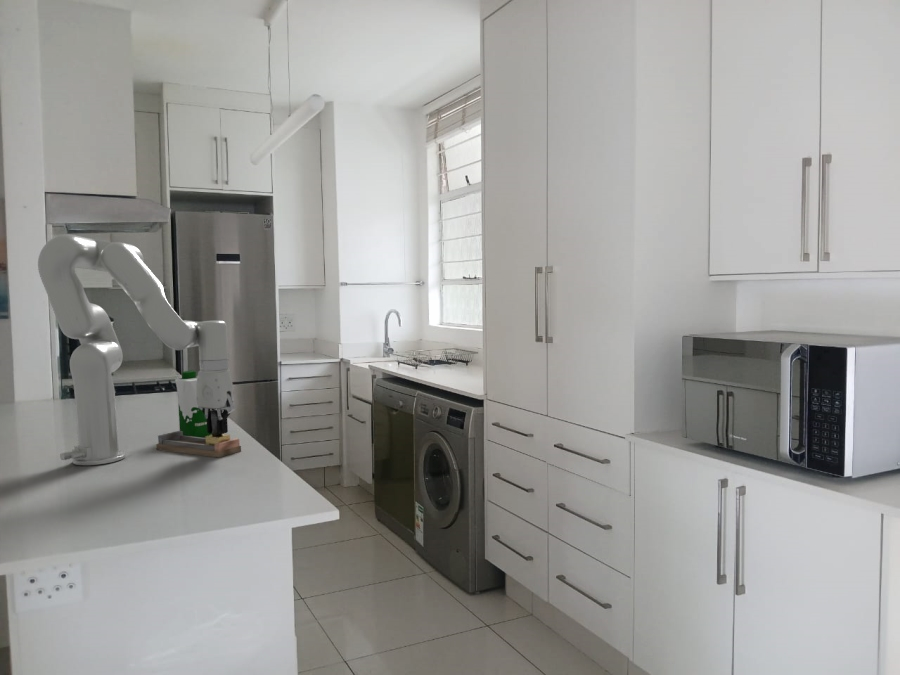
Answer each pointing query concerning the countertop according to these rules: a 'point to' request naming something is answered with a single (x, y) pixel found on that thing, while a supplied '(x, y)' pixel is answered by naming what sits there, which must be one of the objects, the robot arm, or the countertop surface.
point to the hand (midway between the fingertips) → (217, 432)
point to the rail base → (196, 445)
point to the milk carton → (190, 407)
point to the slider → (215, 431)
